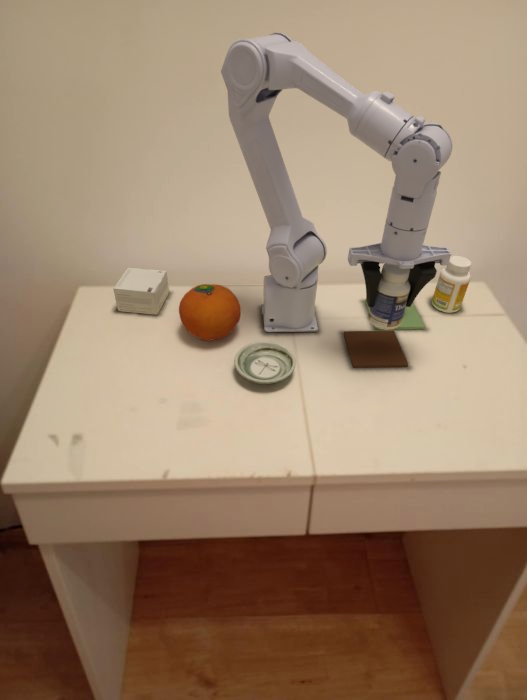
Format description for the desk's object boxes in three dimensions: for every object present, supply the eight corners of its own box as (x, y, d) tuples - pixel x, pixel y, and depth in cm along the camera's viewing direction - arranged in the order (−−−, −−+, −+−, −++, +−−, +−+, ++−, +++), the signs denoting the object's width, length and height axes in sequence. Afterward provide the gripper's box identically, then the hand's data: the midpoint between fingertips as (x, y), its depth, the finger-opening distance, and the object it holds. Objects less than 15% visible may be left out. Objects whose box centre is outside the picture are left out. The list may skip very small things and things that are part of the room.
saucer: (226, 385, 73) (226, 374, 71) (244, 347, 80) (244, 336, 78) (287, 398, 71) (288, 386, 69) (300, 358, 78) (301, 346, 77)
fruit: (249, 341, 81) (249, 302, 76) (190, 355, 78) (186, 316, 73) (229, 308, 89) (227, 271, 84) (175, 319, 86) (170, 281, 80)
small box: (131, 289, 93) (127, 266, 90) (170, 292, 92) (167, 269, 89) (117, 311, 87) (111, 288, 84) (158, 315, 86) (154, 292, 83)
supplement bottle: (456, 298, 93) (471, 254, 87) (462, 314, 89) (479, 269, 83) (429, 296, 93) (442, 252, 87) (433, 312, 89) (447, 267, 83)
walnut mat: (353, 367, 77) (353, 365, 76) (343, 333, 84) (343, 331, 83) (407, 367, 77) (408, 364, 77) (393, 333, 84) (394, 330, 84)
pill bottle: (394, 335, 73) (408, 281, 67) (362, 323, 75) (372, 270, 69) (405, 318, 77) (419, 265, 70) (374, 307, 79) (385, 255, 73)
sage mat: (375, 329, 85) (376, 327, 84) (364, 301, 91) (365, 299, 91) (424, 329, 85) (425, 326, 85) (410, 301, 92) (411, 298, 92)
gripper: (361, 235, 62) (346, 318, 70) (469, 235, 62) (441, 318, 71) (350, 212, 67) (338, 292, 76) (450, 212, 68) (427, 292, 77)
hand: (387, 303), depth 74 cm, fingers closed on pill bottle, 5 cm apart
